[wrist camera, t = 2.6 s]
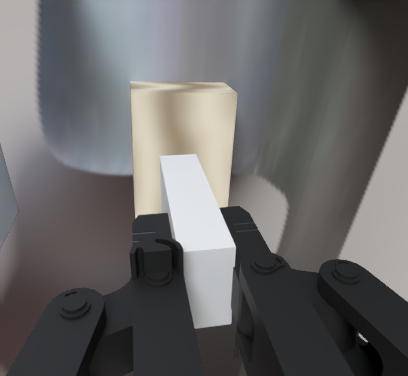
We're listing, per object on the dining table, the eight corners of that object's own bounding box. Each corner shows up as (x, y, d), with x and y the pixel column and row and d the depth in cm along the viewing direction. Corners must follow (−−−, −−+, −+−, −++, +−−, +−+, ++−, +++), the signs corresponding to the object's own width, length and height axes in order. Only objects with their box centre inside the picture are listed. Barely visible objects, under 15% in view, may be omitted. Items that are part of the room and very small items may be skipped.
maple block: (223, 82, 37) (237, 93, 32) (216, 191, 42) (226, 214, 38) (129, 81, 35) (131, 92, 31) (134, 195, 40) (135, 219, 36)
